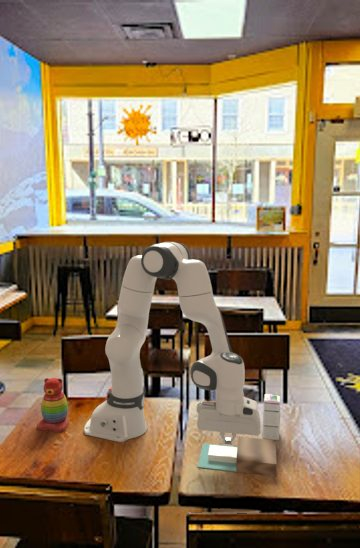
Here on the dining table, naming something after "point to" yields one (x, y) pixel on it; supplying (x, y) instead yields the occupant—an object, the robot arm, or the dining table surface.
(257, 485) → the dining table surface
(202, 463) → the mat
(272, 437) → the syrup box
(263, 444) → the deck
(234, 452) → the cream rectangular block
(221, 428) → the robot arm
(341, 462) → the dining table surface
